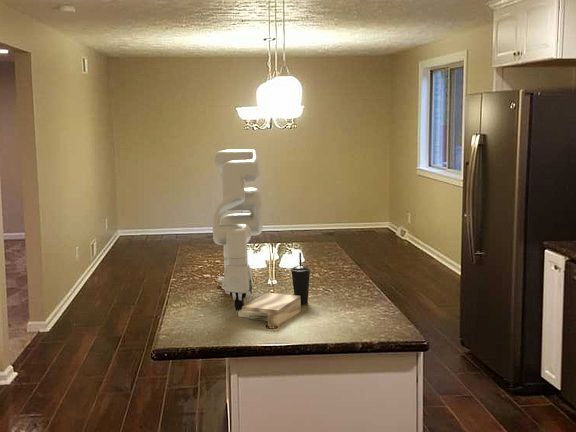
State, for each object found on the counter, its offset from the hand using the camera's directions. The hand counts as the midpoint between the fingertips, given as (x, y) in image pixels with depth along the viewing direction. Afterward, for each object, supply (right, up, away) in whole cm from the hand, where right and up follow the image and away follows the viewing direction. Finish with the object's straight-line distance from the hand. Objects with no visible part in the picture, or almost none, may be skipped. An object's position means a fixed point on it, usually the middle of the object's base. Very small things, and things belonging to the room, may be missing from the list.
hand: (239, 309), depth 267 cm
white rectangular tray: (+8, -2, -3) cm, 8 cm away
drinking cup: (+23, +1, +12) cm, 26 cm away
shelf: (+12, -2, -5) cm, 13 cm away
